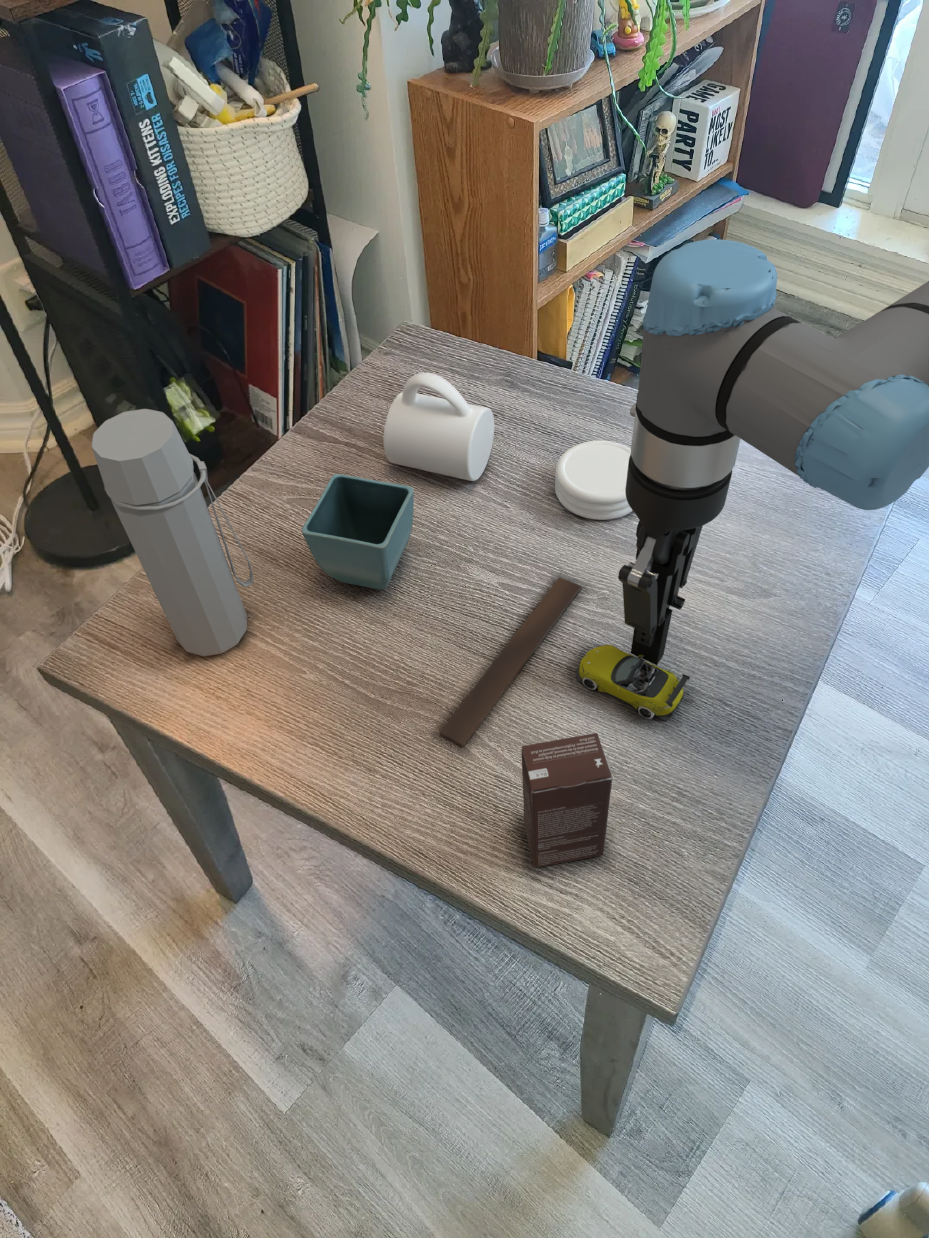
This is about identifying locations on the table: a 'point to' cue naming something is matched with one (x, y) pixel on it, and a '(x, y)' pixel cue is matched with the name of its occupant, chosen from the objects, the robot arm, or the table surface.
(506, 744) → the table surface
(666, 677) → the sports car
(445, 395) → the mug
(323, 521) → the flower pot
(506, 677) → the ruler
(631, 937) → the table surface
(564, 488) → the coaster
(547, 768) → the box
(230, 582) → the water bottle
